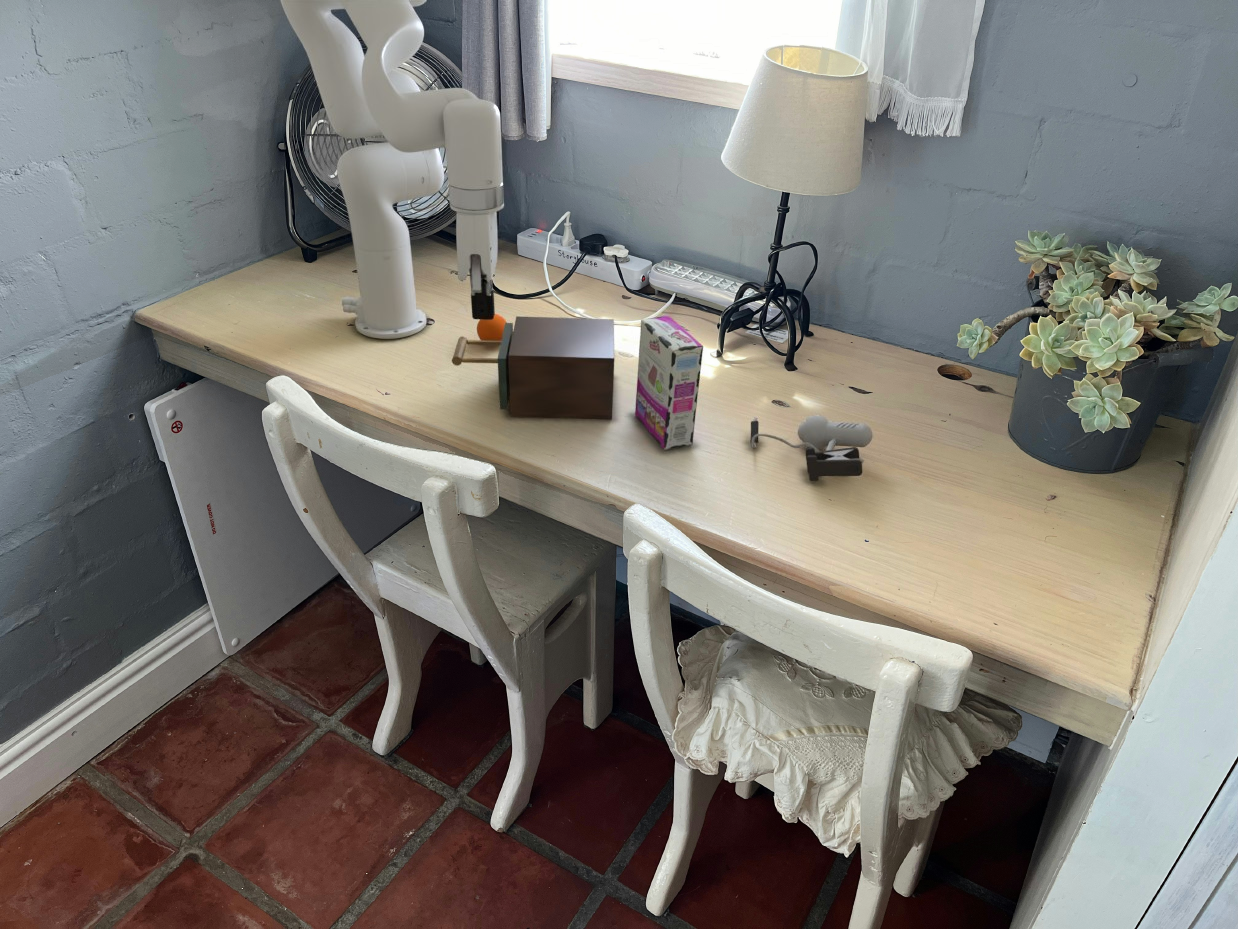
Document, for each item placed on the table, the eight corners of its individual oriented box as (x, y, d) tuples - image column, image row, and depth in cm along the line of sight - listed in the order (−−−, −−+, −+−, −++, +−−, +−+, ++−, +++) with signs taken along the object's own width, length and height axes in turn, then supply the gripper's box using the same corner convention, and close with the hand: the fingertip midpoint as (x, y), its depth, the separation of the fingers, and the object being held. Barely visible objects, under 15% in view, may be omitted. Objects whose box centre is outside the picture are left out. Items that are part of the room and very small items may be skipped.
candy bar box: (694, 445, 130) (705, 345, 120) (664, 451, 128) (672, 351, 119) (662, 409, 138) (669, 313, 129) (633, 414, 136) (639, 317, 127)
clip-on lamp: (736, 477, 128) (861, 488, 120) (731, 442, 125) (858, 450, 117) (759, 433, 136) (877, 440, 128) (755, 398, 133) (876, 404, 125)
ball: (473, 348, 153) (472, 319, 150) (482, 335, 157) (481, 307, 154) (504, 352, 152) (503, 323, 149) (512, 338, 156) (511, 310, 153)
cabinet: (510, 417, 134) (508, 355, 128) (517, 374, 145) (516, 316, 139) (612, 419, 135) (614, 358, 129) (611, 377, 146) (613, 319, 140)
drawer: (452, 408, 134) (448, 357, 129) (463, 370, 144) (459, 321, 139) (594, 412, 135) (595, 361, 130) (594, 373, 145) (596, 325, 140)
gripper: (457, 179, 128) (465, 297, 138) (441, 211, 115) (451, 338, 126) (508, 181, 128) (512, 298, 138) (498, 213, 116) (503, 339, 126)
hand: (483, 316), depth 132 cm, fingers closed
